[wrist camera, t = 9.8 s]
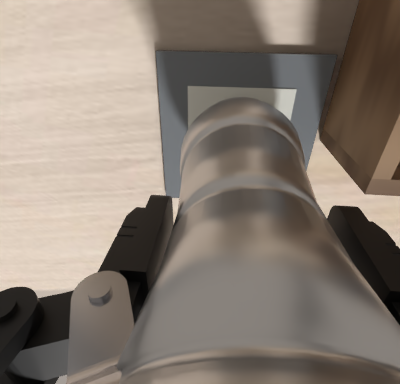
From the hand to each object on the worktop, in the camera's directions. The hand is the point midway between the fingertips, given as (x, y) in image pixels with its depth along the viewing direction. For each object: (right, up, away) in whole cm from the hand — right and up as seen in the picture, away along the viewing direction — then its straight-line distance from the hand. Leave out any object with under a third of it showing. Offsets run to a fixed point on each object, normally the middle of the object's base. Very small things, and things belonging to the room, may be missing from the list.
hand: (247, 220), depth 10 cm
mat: (+1, +5, +8) cm, 9 cm away
